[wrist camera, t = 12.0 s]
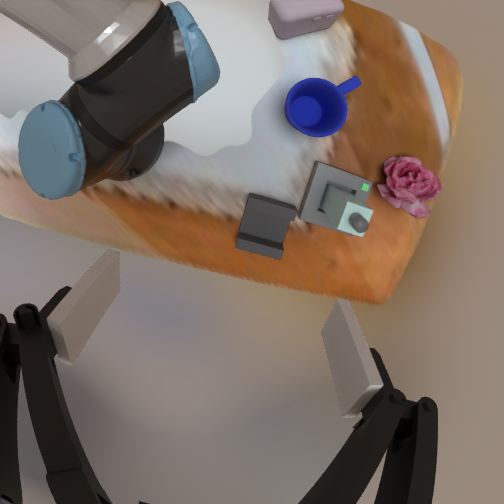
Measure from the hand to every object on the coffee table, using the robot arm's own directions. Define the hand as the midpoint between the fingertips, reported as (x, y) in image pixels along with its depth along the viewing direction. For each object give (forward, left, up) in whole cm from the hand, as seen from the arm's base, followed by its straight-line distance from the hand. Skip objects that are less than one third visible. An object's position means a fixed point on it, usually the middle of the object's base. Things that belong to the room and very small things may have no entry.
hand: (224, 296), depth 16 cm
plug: (+15, +2, -33) cm, 36 cm away
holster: (+5, -6, -33) cm, 34 cm away
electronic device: (+1, +30, -34) cm, 45 cm away
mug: (+7, +16, -34) cm, 38 cm away
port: (+15, +2, -33) cm, 37 cm away
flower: (+26, +10, -34) cm, 44 cm away
